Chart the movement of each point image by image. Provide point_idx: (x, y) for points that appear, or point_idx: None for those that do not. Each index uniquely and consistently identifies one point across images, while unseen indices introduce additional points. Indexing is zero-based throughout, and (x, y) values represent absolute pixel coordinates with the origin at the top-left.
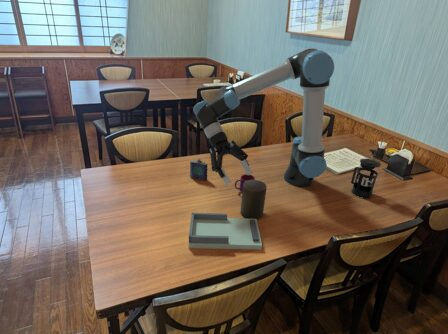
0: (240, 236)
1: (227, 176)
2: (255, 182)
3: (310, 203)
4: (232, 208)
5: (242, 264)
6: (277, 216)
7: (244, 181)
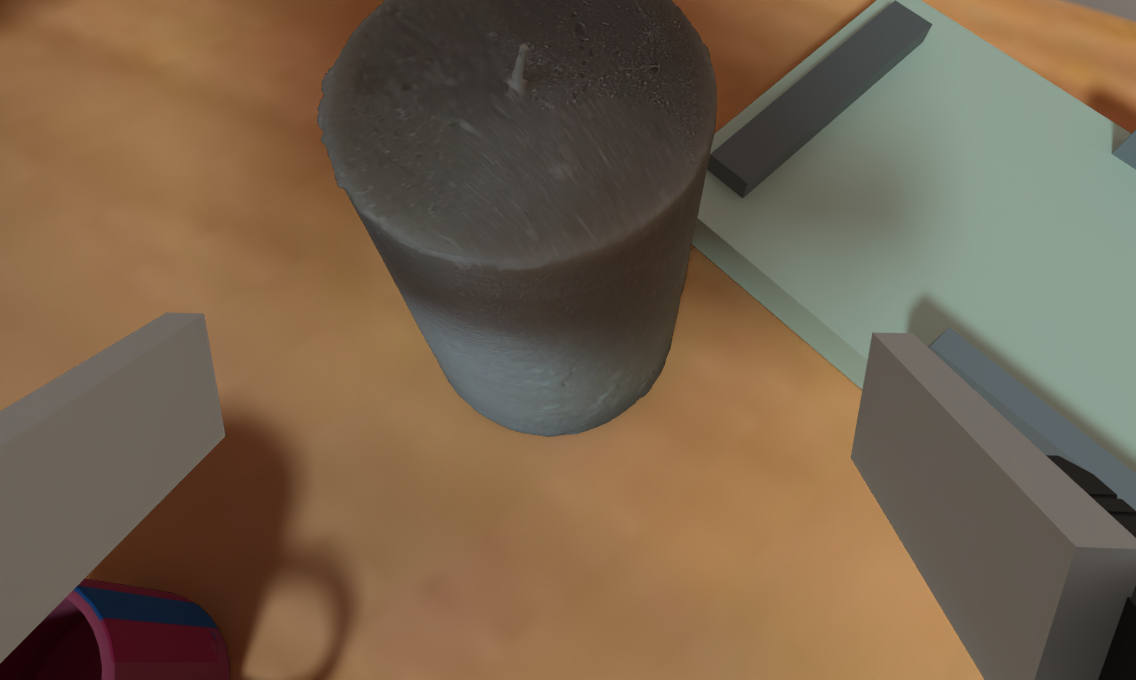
0: (970, 131)
1: (947, 397)
2: (438, 125)
3: (31, 68)
4: (635, 525)
5: (1099, 20)
6: None
7: (130, 676)
